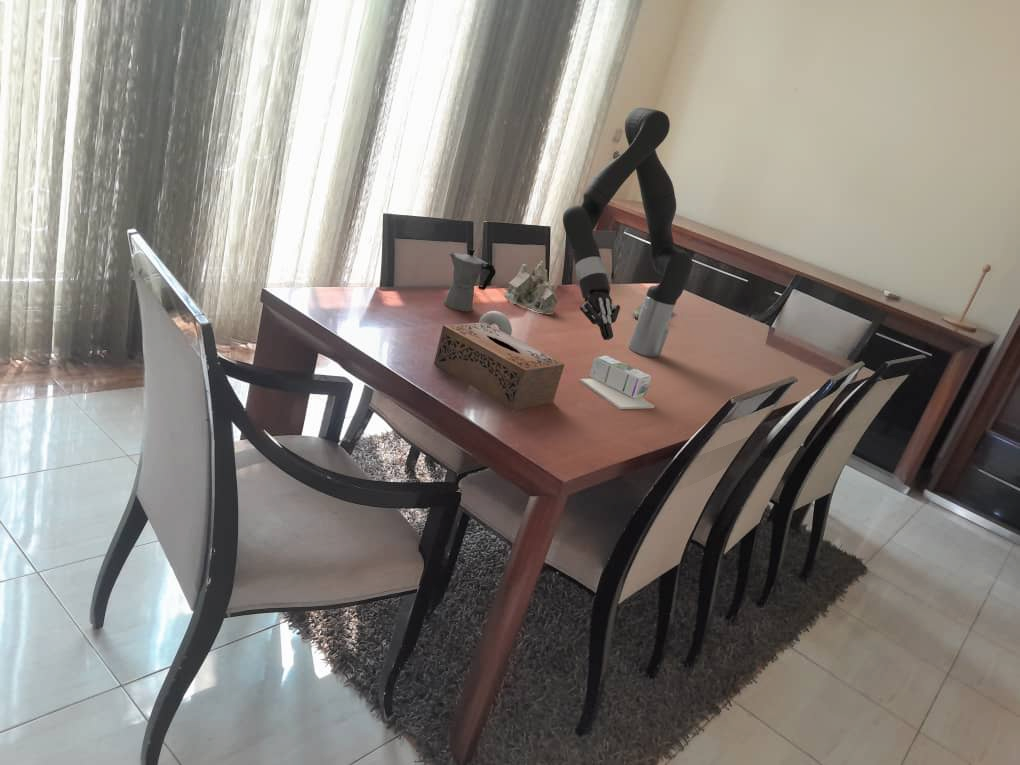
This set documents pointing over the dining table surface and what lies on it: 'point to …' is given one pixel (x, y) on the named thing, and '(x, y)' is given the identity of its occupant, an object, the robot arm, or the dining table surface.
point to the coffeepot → (466, 280)
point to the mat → (616, 396)
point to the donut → (497, 321)
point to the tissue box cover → (498, 365)
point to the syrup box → (620, 376)
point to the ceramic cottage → (532, 290)
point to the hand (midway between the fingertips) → (608, 338)
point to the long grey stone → (637, 311)
